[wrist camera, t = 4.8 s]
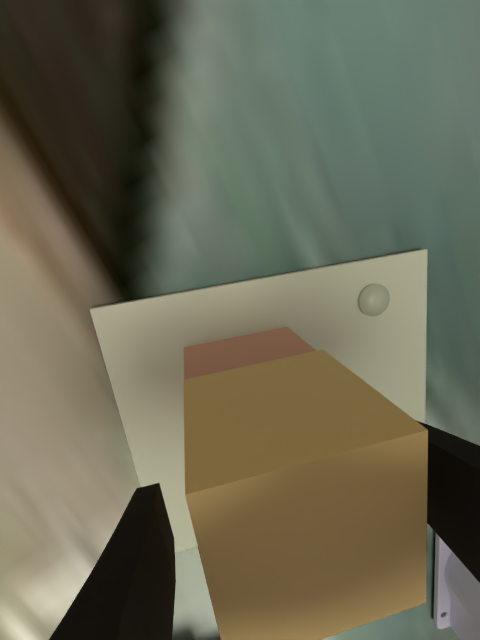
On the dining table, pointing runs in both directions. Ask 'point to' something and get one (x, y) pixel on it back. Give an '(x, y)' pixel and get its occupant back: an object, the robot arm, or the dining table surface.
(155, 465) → the plate
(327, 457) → the ochre brick
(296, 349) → the terracotta brick
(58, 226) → the dining table surface
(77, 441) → the dining table surface
